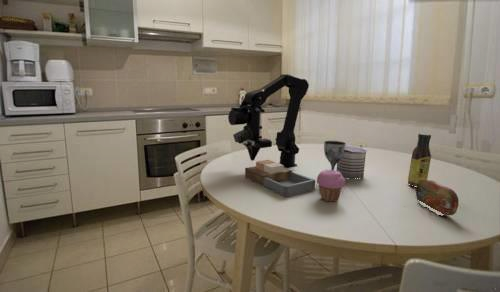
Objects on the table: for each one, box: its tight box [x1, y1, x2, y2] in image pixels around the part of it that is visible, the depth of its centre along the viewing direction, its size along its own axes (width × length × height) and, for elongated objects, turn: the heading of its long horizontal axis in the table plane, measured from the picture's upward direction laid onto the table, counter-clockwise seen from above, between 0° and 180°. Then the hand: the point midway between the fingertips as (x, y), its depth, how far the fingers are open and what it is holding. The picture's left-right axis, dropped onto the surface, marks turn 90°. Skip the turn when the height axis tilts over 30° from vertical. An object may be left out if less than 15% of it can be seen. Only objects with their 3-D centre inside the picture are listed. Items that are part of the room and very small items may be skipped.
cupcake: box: [316, 169, 346, 202], centre depth 96 cm, size 9×9×10 cm
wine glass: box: [323, 140, 347, 170], centre depth 115 cm, size 8×8×15 cm
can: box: [335, 144, 367, 180], centre depth 121 cm, size 11×11×12 cm
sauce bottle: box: [407, 133, 432, 186], centre depth 109 cm, size 6×6×20 cm
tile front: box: [264, 162, 284, 174], centre depth 112 cm, size 6×4×2 cm
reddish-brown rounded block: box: [415, 179, 459, 216], centre depth 89 cm, size 15×3×8 cm, turn 5°
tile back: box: [255, 159, 276, 170], centre depth 116 cm, size 6×4×2 cm
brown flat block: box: [244, 165, 293, 187], centre depth 116 cm, size 14×12×4 cm
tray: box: [262, 171, 316, 198], centre depth 106 cm, size 14×12×4 cm
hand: (252, 160), depth 124 cm, fingers closed
